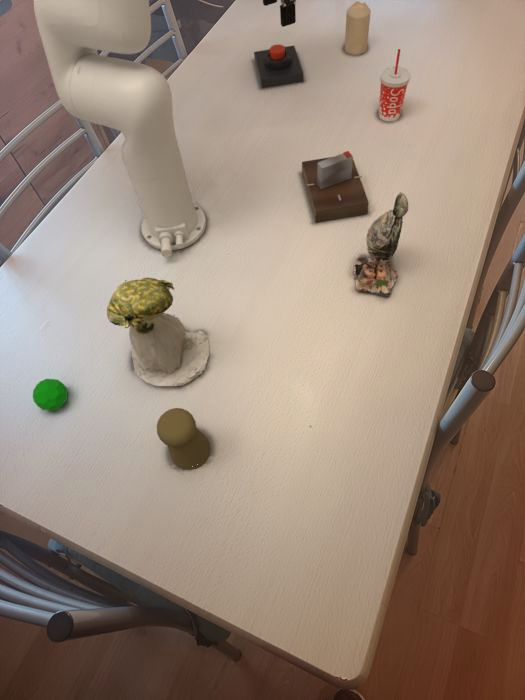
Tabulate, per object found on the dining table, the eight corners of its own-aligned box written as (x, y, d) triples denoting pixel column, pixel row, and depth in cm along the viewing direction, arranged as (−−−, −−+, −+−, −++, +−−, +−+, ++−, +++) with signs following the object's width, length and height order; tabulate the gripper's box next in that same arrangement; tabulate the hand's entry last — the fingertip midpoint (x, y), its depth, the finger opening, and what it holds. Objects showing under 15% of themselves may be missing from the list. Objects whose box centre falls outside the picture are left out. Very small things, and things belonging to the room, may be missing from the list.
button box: (303, 82, 118) (303, 65, 115) (261, 88, 118) (260, 72, 114) (294, 54, 124) (294, 37, 121) (254, 60, 124) (253, 44, 121)
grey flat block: (321, 189, 95) (321, 167, 91) (316, 184, 96) (317, 161, 92) (351, 178, 96) (353, 155, 92) (346, 172, 97) (348, 149, 92)
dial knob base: (368, 214, 95) (370, 201, 92) (313, 223, 95) (313, 210, 92) (351, 165, 102) (353, 152, 100) (300, 174, 102) (300, 161, 99)
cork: (211, 429, 76) (197, 399, 66) (210, 469, 73) (195, 443, 63) (171, 432, 76) (152, 402, 66) (169, 471, 73) (148, 446, 63)
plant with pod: (408, 256, 89) (431, 164, 72) (387, 304, 84) (407, 217, 67) (364, 243, 92) (377, 151, 74) (342, 289, 87) (350, 202, 70)
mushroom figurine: (187, 400, 78) (158, 340, 62) (118, 375, 82) (73, 311, 66) (219, 339, 84) (199, 270, 68) (153, 318, 87) (119, 246, 71)
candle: (341, 45, 124) (343, 1, 116) (361, 40, 125) (365, -4, 116) (349, 57, 121) (352, 12, 113) (370, 51, 122) (375, 7, 113)
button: (286, 59, 117) (286, 51, 116) (271, 61, 117) (270, 54, 115) (283, 50, 119) (283, 43, 117) (269, 53, 119) (268, 45, 117)
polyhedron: (36, 401, 81) (21, 388, 76) (61, 381, 82) (48, 367, 78) (52, 421, 78) (38, 409, 74) (78, 400, 80) (65, 387, 76)
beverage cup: (373, 122, 108) (381, 57, 96) (376, 105, 111) (385, 40, 99) (402, 124, 107) (413, 59, 95) (404, 107, 110) (416, 41, 98)
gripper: (238, -97, 96) (248, 0, 111) (273, -63, 88) (279, 38, 103) (274, -107, 97) (279, -9, 112) (312, -74, 89) (312, 27, 104)
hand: (279, 13), depth 107 cm, fingers open, 9 cm apart
